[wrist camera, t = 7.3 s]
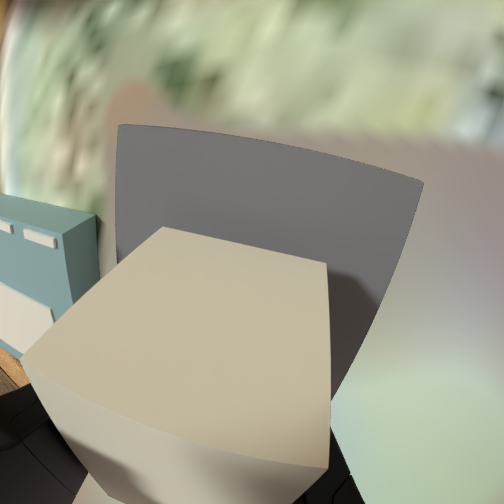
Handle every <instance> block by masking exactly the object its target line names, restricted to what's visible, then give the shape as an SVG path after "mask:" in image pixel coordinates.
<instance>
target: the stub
mask: <svg viewBox="0 0 504 504" xmlns="http://www.w3.org/2000/svg"><path fill="white" fill-rule="evenodd" d="M19 360H20V362H21V365H22V367H23V369H24V371H25V373H26V375H27V377H28V379H29V381H30V383H31V385H32V386H33V388H34V390H35V392H36V394H37V396H38V397H39V399H40V401H41V403H42V405H43V406H44V408H45V410H46V411H47V413H48V415H49V416H50V418H51V420H52V421H53V423H54V424H55V426H56V427H57V429H58V430H59V432H60V434H61V435H62V437H63V438H64V439H65V441H66V442H67V444H68V445H69V447H70V448H71V449H72V451H73V452H74V454H75V455H76V456H77V458H78V459H79V460H80V462H81V463H82V464H83V466H84V467H85V468H86V469H87V471H88V472H89V473H90V474H91V476H92V477H93V478H94V479H95V480H96V482H97V483H98V484H99V485H100V486H101V488H102V489H103V490H104V491H105V492H106V493H107V494H108V496H110V497H112V498H114V499H116V500H118V501H121V502H123V503H125V504H292V503H293V502H294V501H295V500H296V499H298V498H299V497H300V496H301V495H302V494H303V493H304V492H305V491H306V490H307V489H308V488H309V487H310V486H311V485H312V484H313V483H314V482H315V481H317V480H318V479H319V478H320V477H321V476H322V474H323V473H324V472H325V471H326V470H327V469H328V465H329V445H330V411H331V354H330V320H329V298H328V280H327V265H326V263H323V262H319V261H315V260H310V259H306V258H301V257H297V256H293V255H288V254H284V253H279V252H275V251H270V250H266V249H262V248H257V247H253V246H248V245H244V244H239V243H235V242H230V241H226V240H221V239H217V238H212V237H208V236H204V235H199V234H195V233H190V232H185V231H181V230H176V229H172V228H167V227H161V228H160V229H159V230H158V231H156V232H155V233H154V234H153V235H152V236H150V237H149V238H148V239H147V240H146V241H144V242H143V243H142V244H141V245H140V246H138V247H137V248H136V249H135V250H134V251H133V252H131V253H130V254H129V255H128V256H127V257H126V258H124V259H123V260H122V261H121V262H120V263H119V264H118V265H116V266H115V267H114V268H113V269H112V270H111V271H110V272H108V273H107V274H106V275H105V276H104V277H103V278H102V279H101V280H100V281H98V282H97V283H96V284H95V285H94V286H93V287H92V288H91V289H90V290H89V291H87V292H86V293H85V294H84V295H83V296H82V297H81V298H80V299H79V300H78V301H77V302H76V303H75V304H74V305H73V306H71V307H70V308H69V309H68V310H67V311H66V312H65V313H64V314H63V315H62V316H61V317H60V318H59V319H58V320H57V321H56V322H55V323H54V324H53V325H52V326H51V327H50V328H49V329H48V330H47V331H46V332H45V333H44V334H43V335H42V336H41V337H40V338H39V339H38V340H37V341H36V342H35V343H34V344H33V345H32V346H31V347H30V348H29V349H28V350H27V351H26V352H25V353H24V355H23V356H22V357H21V358H20V359H19Z"/></svg>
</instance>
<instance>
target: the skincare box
mask: <svg viewBox="0 0 504 504" xmlns="http://www.w3.org/2000/svg"><path fill="white" fill-rule="evenodd" d="M15 389H18V387H17V386H16V385H15V384H14V382H13V381H12V380H11V379H10V378H9V377H8V376H7V375H6V374H5V373H4V372H3V371H2V370H1V369H0V395H2V394H5V393H8V392H10V391H13V390H15Z"/></svg>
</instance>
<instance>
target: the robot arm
mask: <svg viewBox="0 0 504 504" xmlns="http://www.w3.org/2000/svg"><path fill="white" fill-rule="evenodd" d="M87 474H88V471H87V469H86V468H85V467H84V466H83V464H82V463H81V462H80V460H79V459H78V458H77V456H76V455H75V454H74V452H73V451H72V449H71V448H70V447H69V445H68V444H67V442H66V441H65V439H64V438H63V437H62V435H61V434H60V432H59V430H58V429H57V427H56V426H55V424H54V423H53V421H52V420H51V418H50V416H49V415H48V413H47V411H46V410H45V408H44V406H43V405H42V403H41V401H40V399H39V397H38V396H37V394H36V392H35V390H34V388H33V386H32V385H31V383H29V384H27V385H25V386H22V387H20V388H18V389H15V390H13V391H10V392H8V393H5V394H2V395H0V504H72V503H73V501H74V499H75V497H76V496H75V495H77V493H78V491H79V489H80V487H81V485H82V483H83V482H84V480H85V478H86V476H87ZM292 504H365V502H364V501H363V499H362V497H361V495H360V492H359V490H358V488H357V486H356V484H355V482H354V479H353V477H352V475H350V470H349V468H348V466H347V464H346V462H345V459H344V457H343V454H342V452H341V450H340V447H339V445H338V443H337V441H336V438H335V436H334V434H333V432H332V429H331V427H330V445H329V465H328V469H327V470H326V471H325V472H324V473H323V474H322V476H321V477H320V478H319V479H318V480H317V481H315V482H314V483H313V484H312V485H311V486H310V487H309V488H308V489H307V490H306V491H305V492H304V493H303V494H302V495H301V496H300V497H299V498H298V499H296V500H295V501H294V502H293V503H292Z"/></svg>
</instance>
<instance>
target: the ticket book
mask: <svg viewBox="0 0 504 504" xmlns="http://www.w3.org/2000/svg"><path fill="white" fill-rule="evenodd" d="M98 281H100V271H99V261H98V250H97V236H96V216H95V214H90V213H86V212H81V211H77V210H72V209H68V208H63V207H59V206H54V205H50V204H45V203H41V202H36V201H32V200H27V199H23V198H18V197H14V196H9V195H5V194H0V347H1V348H2V349H4V350H5V351H7V352H8V353H9V354H11V355H12V356H14V357H15V358H17V359H18V360H19V359H20V358H21V357H22V356H23V355H24V353H25V352H26V351H27V350H28V349H29V348H30V347H31V346H32V345H33V344H34V343H35V342H36V341H37V340H38V339H39V338H40V337H41V336H42V335H43V334H44V333H45V332H46V331H47V330H48V329H49V328H50V327H51V326H52V325H53V324H54V323H55V322H56V321H57V320H58V319H59V318H60V317H61V316H62V315H63V314H64V313H65V312H66V311H67V310H68V309H69V308H70V307H71V306H73V305H74V304H75V303H76V302H77V301H78V300H79V299H80V298H81V297H82V296H83V295H84V294H85V293H86V292H87V291H89V290H90V289H91V288H92V287H93V286H94V285H95V284H96V283H97V282H98Z"/></svg>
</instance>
